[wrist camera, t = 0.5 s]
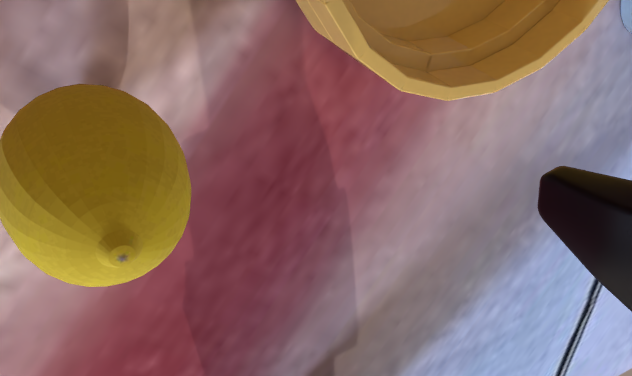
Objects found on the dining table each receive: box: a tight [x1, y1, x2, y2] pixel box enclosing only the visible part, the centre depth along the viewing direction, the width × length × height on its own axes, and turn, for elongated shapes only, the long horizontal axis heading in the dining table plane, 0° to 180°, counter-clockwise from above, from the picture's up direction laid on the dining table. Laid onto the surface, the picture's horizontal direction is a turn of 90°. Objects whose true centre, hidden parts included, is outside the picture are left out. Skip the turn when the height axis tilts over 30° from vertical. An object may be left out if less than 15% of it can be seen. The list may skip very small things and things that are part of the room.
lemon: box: [0, 84, 191, 287], centre depth 18 cm, size 6×6×8 cm
